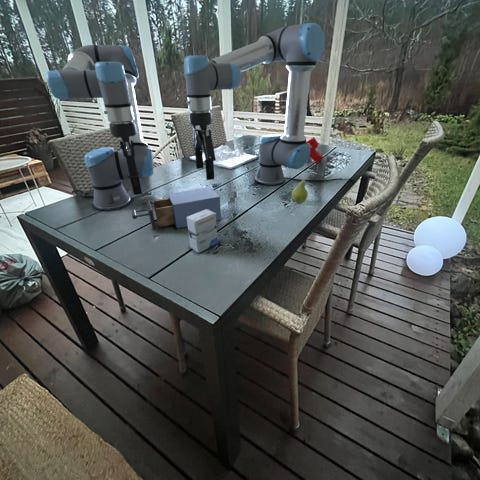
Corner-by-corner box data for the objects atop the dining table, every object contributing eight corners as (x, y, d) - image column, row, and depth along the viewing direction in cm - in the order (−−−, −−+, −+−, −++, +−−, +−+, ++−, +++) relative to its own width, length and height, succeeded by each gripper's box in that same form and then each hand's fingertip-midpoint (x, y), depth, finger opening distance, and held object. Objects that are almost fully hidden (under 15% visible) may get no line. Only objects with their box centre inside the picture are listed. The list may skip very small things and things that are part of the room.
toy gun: (326, 157, 168) (314, 136, 164) (326, 159, 164) (313, 137, 160) (301, 172, 178) (289, 153, 174) (300, 174, 174) (287, 154, 170)
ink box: (209, 237, 96) (206, 207, 90) (218, 243, 93) (216, 212, 87) (189, 247, 91) (185, 216, 85) (198, 253, 88) (195, 221, 82)
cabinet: (176, 228, 103) (173, 204, 97) (171, 216, 111) (167, 193, 106) (221, 219, 108) (219, 196, 103) (212, 208, 117) (211, 186, 111)
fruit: (288, 200, 123) (290, 174, 116) (302, 197, 125) (305, 172, 119) (296, 206, 118) (299, 179, 111) (310, 203, 120) (314, 177, 114)
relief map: (231, 168, 161) (231, 160, 158) (189, 159, 179) (189, 151, 176) (257, 158, 179) (257, 150, 176) (217, 150, 197) (216, 142, 194)
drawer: (136, 233, 98) (131, 213, 94) (134, 221, 105) (129, 203, 101) (196, 221, 105) (194, 202, 101) (190, 211, 113) (188, 193, 108)
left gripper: (108, 119, 87) (125, 188, 100) (108, 126, 77) (128, 202, 90) (132, 117, 89) (146, 185, 102) (136, 124, 79) (151, 198, 92)
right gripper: (180, 107, 99) (187, 165, 110) (199, 117, 79) (204, 186, 91) (200, 106, 101) (205, 163, 113) (223, 115, 82) (225, 183, 93)
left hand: (137, 193), depth 96 cm, fingers closed
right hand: (205, 173), depth 102 cm, fingers open, 13 cm apart
